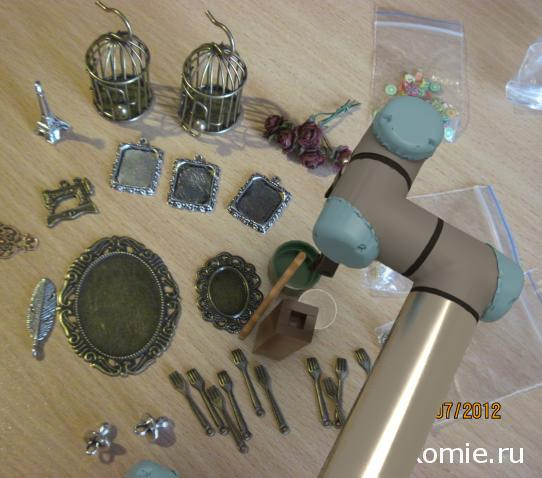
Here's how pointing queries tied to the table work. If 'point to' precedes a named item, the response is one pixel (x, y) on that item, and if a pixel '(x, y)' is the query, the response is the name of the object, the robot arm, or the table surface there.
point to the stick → (272, 295)
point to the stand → (285, 329)
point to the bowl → (302, 276)
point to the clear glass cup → (320, 307)
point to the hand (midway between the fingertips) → (323, 232)
